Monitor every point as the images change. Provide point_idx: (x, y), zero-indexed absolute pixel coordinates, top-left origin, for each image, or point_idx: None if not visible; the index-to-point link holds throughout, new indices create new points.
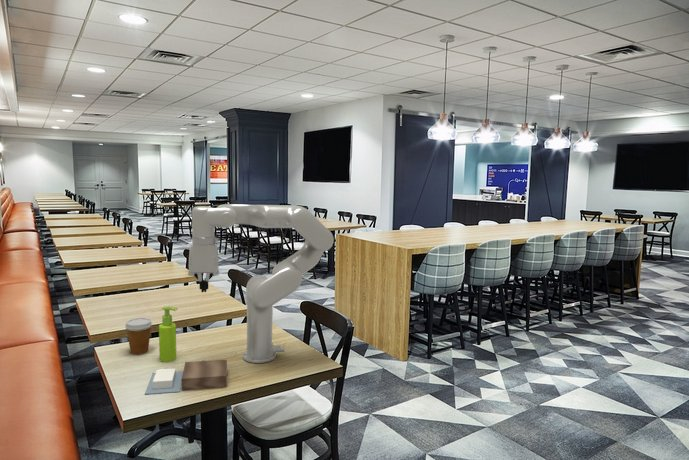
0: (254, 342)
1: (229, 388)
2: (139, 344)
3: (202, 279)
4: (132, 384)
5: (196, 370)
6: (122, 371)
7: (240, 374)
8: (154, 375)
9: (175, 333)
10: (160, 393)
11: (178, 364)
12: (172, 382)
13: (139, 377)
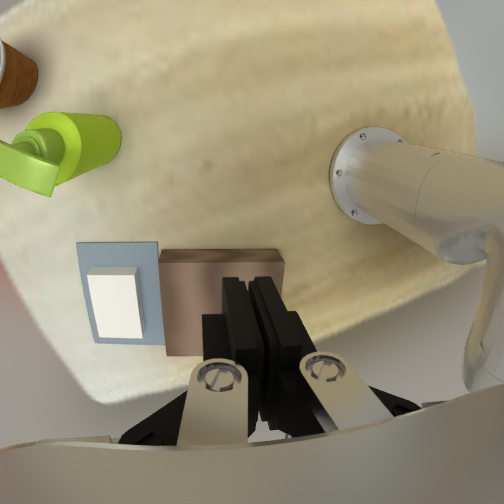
0: (384, 223)
1: None
2: (3, 107)
3: (249, 430)
4: (52, 291)
5: (198, 320)
6: (7, 217)
7: (308, 278)
8: (84, 258)
9: (93, 152)
10: (125, 343)
11: (132, 186)
12: (143, 331)
13: (53, 258)
